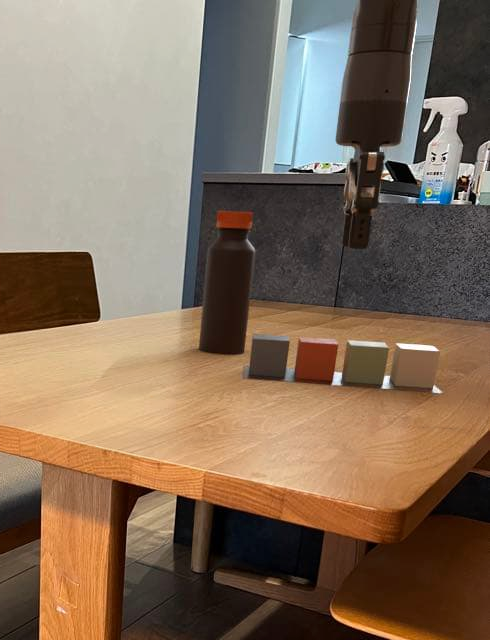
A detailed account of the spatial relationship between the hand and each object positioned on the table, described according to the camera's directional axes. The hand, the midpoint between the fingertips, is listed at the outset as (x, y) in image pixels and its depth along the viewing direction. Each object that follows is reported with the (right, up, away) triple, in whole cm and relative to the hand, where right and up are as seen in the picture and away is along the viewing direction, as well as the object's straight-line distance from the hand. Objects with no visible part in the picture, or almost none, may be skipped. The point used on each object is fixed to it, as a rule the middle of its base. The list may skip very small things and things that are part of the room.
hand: (353, 247), depth 105 cm
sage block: (+2, -16, +4) cm, 16 cm away
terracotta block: (-4, -15, +5) cm, 16 cm away
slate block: (-10, -14, +6) cm, 18 cm away
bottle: (-13, -8, +23) cm, 27 cm away
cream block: (+8, -16, +3) cm, 18 cm away
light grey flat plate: (-1, -16, +5) cm, 17 cm away
